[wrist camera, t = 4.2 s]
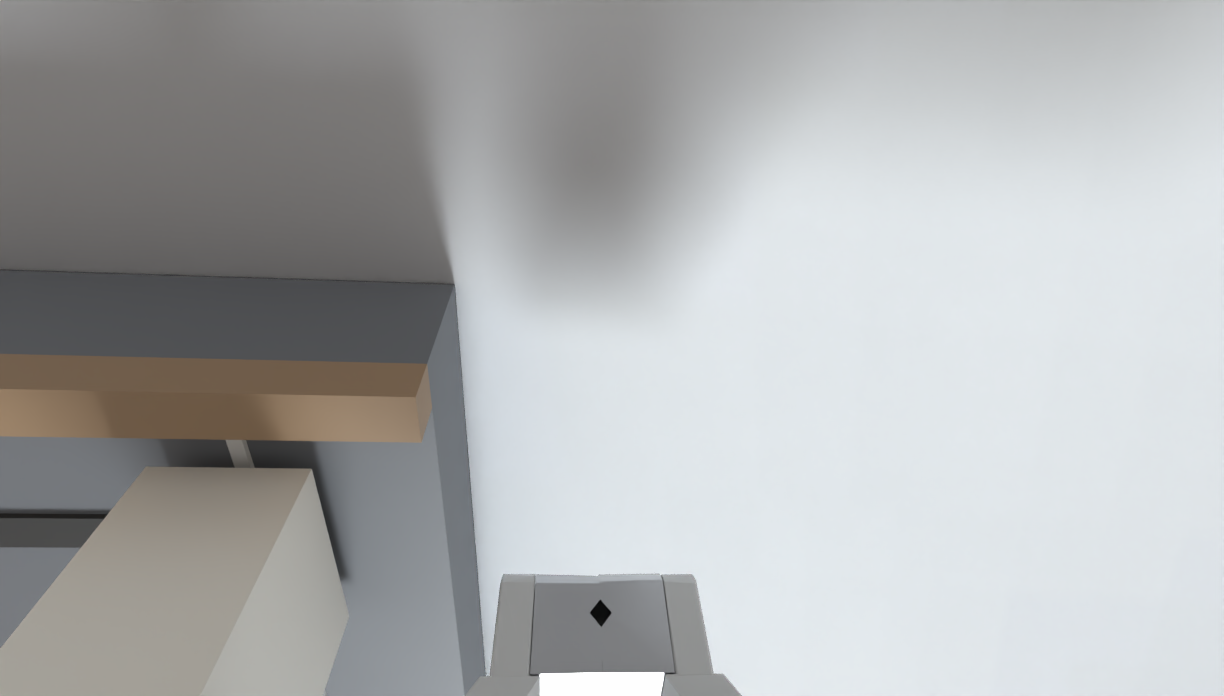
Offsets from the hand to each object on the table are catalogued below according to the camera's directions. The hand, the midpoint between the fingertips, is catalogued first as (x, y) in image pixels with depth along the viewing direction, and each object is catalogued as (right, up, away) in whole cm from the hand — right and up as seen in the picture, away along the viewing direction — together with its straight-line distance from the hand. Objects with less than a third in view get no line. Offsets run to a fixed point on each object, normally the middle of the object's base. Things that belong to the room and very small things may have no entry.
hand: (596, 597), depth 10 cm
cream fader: (-6, +1, 0) cm, 6 cm away
